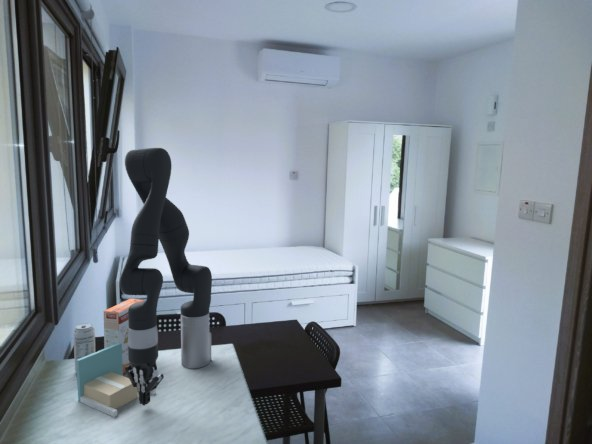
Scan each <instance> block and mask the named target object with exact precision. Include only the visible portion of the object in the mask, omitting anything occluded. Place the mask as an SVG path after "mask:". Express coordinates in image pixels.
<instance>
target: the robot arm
mask: <svg viewBox="0 0 592 444" xmlns="http://www.w3.org/2000/svg"><path fill="white" fill-rule="evenodd" d="M124 167H125V170H126V174H127V176H128V178H129V180H130V182H131V184H132V186H133V187H134V189H135V191H136V193H137V194H138V196H139V198H140V200H141V202H142V203H143V205H142V207H141V208H140V210H139V212H138V214H136V217H135V219H134V221H133V223H132V227H131V231H130V232H131V233H130V243H129V245H130V246H129V251H128V254H127V258H126V262H125V265H124V267H123V269H122V272H121V275H120V277H119V287H120V290H121V292H122V294H124V295H127V296H146V299H145V301H142V302H138V303H134V304H132V305H131V306H130V307H129V309H128V321H129V330H128V359H129V361H130V362H131V365H129V366H127V367H125V371H126V373H125V374H126V375H127V376H128V377H127V378H129V379H130V381H131V383H132V385H133V387H137V392H138V401H139V404H140V405H141V406H146V405H147V404H149V403H150V402H151V394H150V391H152V390H154V389H157V387H158V386H159V385H160V383H161V382H162V381H163V379H164V374H163V373H159V372H158V366H157V360H158V358H159V332H158V325H157V324H158V321H157V320H158V319H157V317H158V316H157V311H158V310H157V309H158V303H159V299H160V295H161V291H162V287H163V284H164V277H163V274H162V272H161V270H159V269H158V268H155V267H151V268H149V267H148V268H147V267H146V268H145V267H139V266H140V265H141V264H142V262H143V261H144V262H145V261H147V260H152V259H153V260H154V259H155V258H157V256H158V254H159V244H161V246H162V248H163V252H164V255H165V256H166V260H167V263H168V266H169V268H170V272H171V275H172V279H173V282H174V284H175V287H176V289H178V290H179V292H182V293H188V294H193V298H192V300H189V301H187V302H186V301H185V302H184V303H182V305H180V359H181V360H180V361H181V366H183V367H185V368H186V369H199V368H203V367H206V366H207V365H208V364H209V363H210V361H211V360H212V332H210V306H211V304H212V303H211V302H212V287H213V286H212V285H213V284H212V282H213V278H212V277H213V275H212V272H211V268H209V267H208V266H206V265H205V266H204V265H198V264H197V265H196V264H191V263H189V261H188V259H187V256H186V253H185V251H186V246H187V245H188V242H189V239H190V238H189V237H190V229H189V226H188V224H187V222H186V218H185V216H184V214H183V212H182V211H181V209H180V208H179V207H178V206H177V205H175V204H174V202H172V201H171V200H170V199H169V198H167V194H168V188H169V184H170V181H171V175H172V158H171V156H170V154H169V152H168V151H167V150H166V149H164V148H162V147H150V148H149V147H147V148H146V147H145V148H137V149H131V150H129V151H127V152H126V154H125V156H124ZM159 242H160V243H159Z"/></svg>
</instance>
